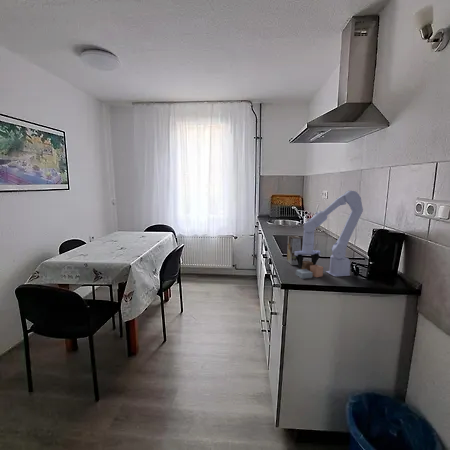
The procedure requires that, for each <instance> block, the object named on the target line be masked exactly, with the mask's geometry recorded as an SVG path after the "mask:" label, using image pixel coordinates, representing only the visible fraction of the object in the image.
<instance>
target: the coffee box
mask: <svg viewBox="0 0 450 450" xmlns="http://www.w3.org/2000/svg"><path fill="white" fill-rule="evenodd" d="M302 247H303V237H301V236H300V235H287V249H286V250H287V251H286V262H287V263H288V264H289V265H291V266H298V261H297V259H296V256H295V255H294V253H295V251H302Z"/></svg>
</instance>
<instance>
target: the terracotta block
mask: <svg viewBox="0 0 450 450" xmlns="http://www.w3.org/2000/svg"><path fill="white" fill-rule="evenodd" d="M310 271H311V272H312V273H313V275H312V277H315V278H319V277H323V276H324V266H322V265H318V264H316V265H311V266H310Z"/></svg>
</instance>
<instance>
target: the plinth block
mask: <svg viewBox="0 0 450 450" xmlns="http://www.w3.org/2000/svg"><path fill="white" fill-rule="evenodd" d="M312 275H313V273H312V272H311V271H309V270H307V269H300V268H299V269H295V276H297V277H298V276H299V278H300V279H301V278H302V279H312V278H313V276H312Z"/></svg>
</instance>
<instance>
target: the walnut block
mask: <svg viewBox="0 0 450 450" xmlns="http://www.w3.org/2000/svg"><path fill="white" fill-rule="evenodd" d="M311 265H313V263H312V262H311V260H303V262H302V269H307V270H309V271H310V266H311Z"/></svg>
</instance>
